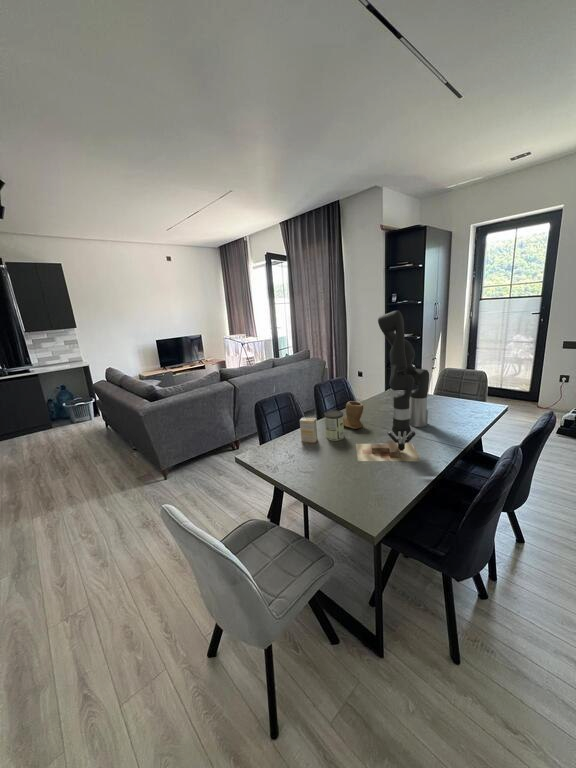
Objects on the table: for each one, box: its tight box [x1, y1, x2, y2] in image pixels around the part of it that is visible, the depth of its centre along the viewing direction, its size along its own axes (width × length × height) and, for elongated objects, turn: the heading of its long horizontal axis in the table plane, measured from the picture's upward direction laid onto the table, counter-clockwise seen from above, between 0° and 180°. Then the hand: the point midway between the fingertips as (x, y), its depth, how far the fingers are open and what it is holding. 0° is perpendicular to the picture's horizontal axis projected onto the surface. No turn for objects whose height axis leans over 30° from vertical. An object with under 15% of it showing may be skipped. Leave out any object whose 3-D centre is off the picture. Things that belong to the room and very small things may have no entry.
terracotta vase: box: [343, 400, 364, 430], centre depth 185 cm, size 15×12×15 cm
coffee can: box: [324, 410, 345, 442], centre depth 171 cm, size 10×10×14 cm
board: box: [355, 442, 422, 462], centre depth 150 cm, size 28×18×1 cm, turn 81°
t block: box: [370, 440, 399, 458], centre depth 149 cm, size 12×12×3 cm
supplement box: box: [299, 417, 319, 444], centre depth 169 cm, size 8×5×13 cm, turn 65°
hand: (401, 449), depth 148 cm, fingers closed
